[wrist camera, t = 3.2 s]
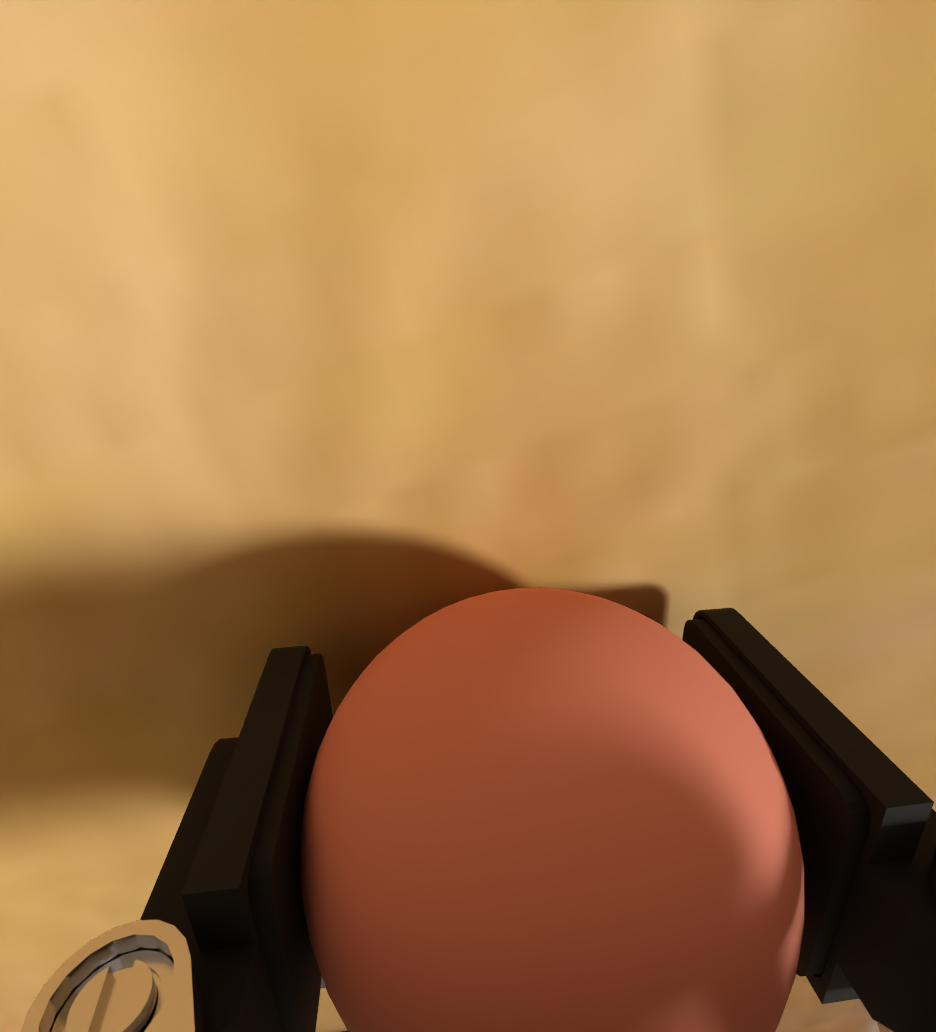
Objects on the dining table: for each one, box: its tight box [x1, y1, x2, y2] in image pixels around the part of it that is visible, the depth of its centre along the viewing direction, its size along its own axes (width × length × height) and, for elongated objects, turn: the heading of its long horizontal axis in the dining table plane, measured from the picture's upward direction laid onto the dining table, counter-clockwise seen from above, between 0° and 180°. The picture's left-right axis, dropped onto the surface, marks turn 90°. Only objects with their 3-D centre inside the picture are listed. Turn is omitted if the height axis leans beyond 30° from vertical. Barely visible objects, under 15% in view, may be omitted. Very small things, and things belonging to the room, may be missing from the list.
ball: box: [300, 588, 804, 1032], centre depth 7 cm, size 6×6×6 cm
